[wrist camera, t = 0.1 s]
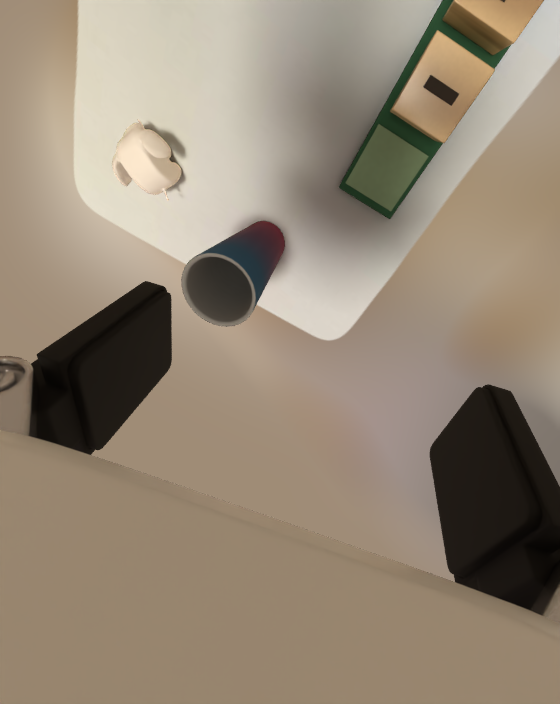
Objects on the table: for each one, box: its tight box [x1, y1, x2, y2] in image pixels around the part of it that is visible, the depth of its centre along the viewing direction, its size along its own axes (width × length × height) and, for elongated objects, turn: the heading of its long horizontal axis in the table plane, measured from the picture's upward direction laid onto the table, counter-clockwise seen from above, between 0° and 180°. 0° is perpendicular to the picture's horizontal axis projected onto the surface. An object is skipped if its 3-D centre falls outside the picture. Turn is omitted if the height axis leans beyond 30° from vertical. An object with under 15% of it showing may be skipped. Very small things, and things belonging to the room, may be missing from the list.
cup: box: [181, 221, 285, 327], centre depth 34 cm, size 7×7×15 cm
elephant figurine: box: [112, 119, 181, 201], centre depth 35 cm, size 7×8×6 cm
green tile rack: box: [339, 0, 544, 219], centre depth 27 cm, size 20×6×6 cm, turn 153°
